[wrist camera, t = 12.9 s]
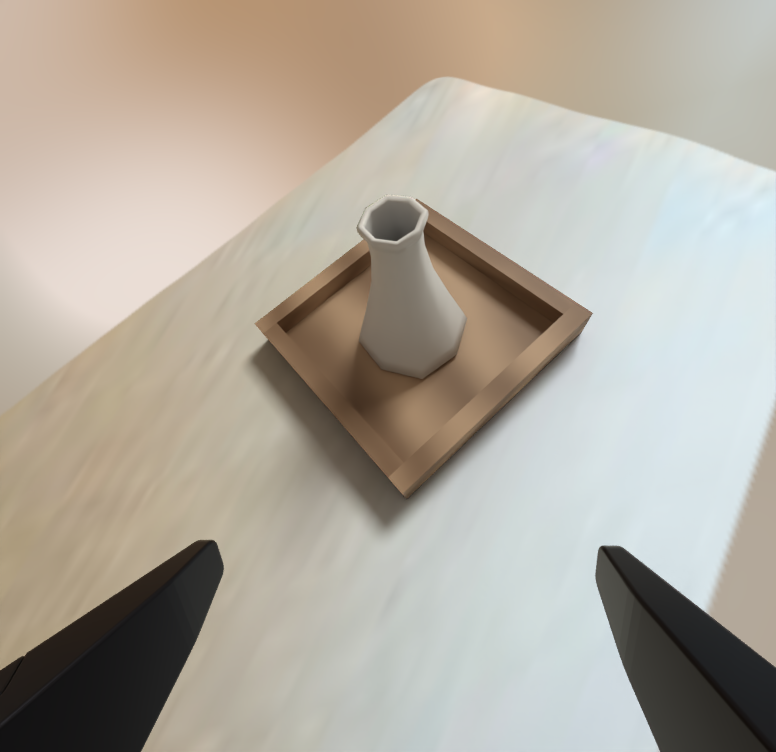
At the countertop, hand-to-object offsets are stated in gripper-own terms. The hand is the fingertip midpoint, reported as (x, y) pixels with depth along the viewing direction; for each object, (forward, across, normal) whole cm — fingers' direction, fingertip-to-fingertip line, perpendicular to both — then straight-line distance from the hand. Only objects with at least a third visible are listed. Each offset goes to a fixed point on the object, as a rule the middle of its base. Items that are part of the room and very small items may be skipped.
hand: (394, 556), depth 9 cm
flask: (+19, +1, -1) cm, 19 cm away
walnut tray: (+20, +1, 0) cm, 20 cm away
